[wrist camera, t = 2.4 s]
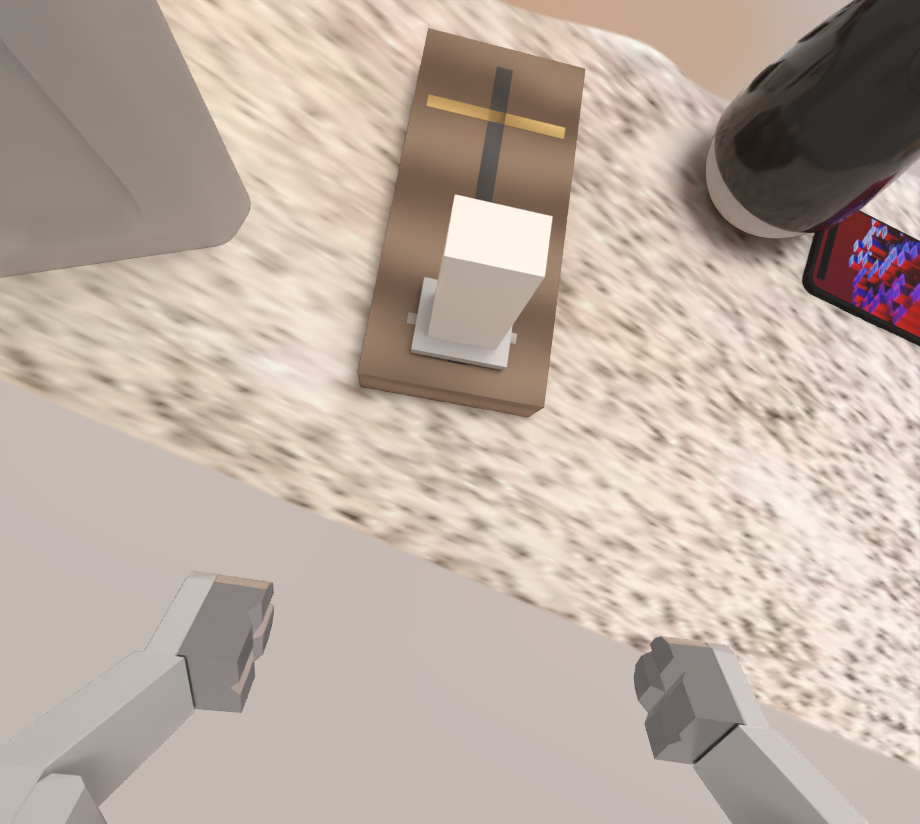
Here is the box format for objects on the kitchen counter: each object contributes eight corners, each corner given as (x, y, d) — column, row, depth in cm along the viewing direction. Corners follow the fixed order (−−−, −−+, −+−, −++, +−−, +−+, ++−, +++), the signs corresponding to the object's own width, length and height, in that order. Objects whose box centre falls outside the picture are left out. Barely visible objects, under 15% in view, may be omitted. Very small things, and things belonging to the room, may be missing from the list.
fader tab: (504, 370, 26) (561, 301, 17) (410, 352, 25) (420, 272, 16) (514, 300, 27) (573, 201, 18) (423, 282, 26) (438, 170, 17)
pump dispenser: (662, 227, 33) (885, 0, 18) (701, 108, 35) (927, -181, 20) (796, 287, 33) (1120, 115, 18) (826, 166, 36) (1135, -73, 21)
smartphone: (993, 377, 34) (806, 286, 33) (978, 380, 35) (795, 291, 34) (1009, 283, 35) (831, 194, 34) (994, 289, 36) (820, 201, 35)
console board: (528, 417, 29) (544, 407, 26) (361, 386, 28) (357, 372, 25) (568, 106, 33) (585, 68, 31) (425, 70, 32) (428, 27, 29)
